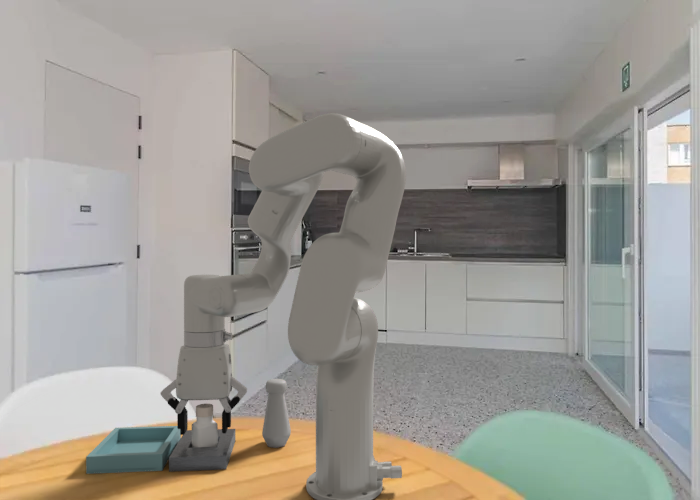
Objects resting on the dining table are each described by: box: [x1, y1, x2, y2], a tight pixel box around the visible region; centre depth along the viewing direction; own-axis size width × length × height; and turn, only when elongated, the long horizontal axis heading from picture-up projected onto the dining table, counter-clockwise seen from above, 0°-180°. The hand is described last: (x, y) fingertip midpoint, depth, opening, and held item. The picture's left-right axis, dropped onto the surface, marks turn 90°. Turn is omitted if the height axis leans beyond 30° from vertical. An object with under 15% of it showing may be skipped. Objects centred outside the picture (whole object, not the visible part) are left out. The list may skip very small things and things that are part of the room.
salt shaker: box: [261, 378, 291, 449], centre depth 107 cm, size 6×6×13 cm
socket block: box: [168, 428, 236, 473], centre depth 102 cm, size 10×14×2 cm
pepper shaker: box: [191, 403, 219, 448], centre depth 102 cm, size 4×4×10 cm
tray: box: [85, 425, 182, 475], centre depth 101 cm, size 13×15×3 cm
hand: (204, 431), depth 102 cm, fingers open, 7 cm apart
